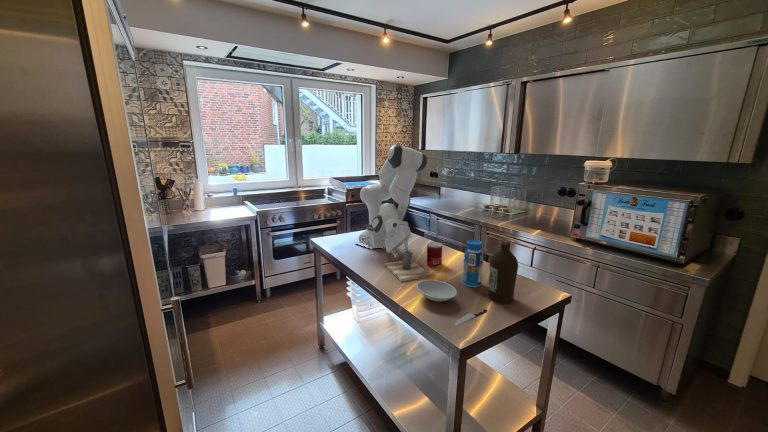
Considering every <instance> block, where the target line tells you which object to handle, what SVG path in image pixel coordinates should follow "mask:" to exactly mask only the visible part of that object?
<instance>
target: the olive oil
mask: <svg viewBox="0 0 768 432" xmlns="http://www.w3.org/2000/svg"><path fill="white" fill-rule="evenodd" d="M510 248H511V240H509V239H501V242H500V249H498V250H497V251H496V252H495V253H493V254H492V256H491V257H490V258H489V259H490V260H489V265H488V266H489V269H488V271H489V273H488V298H489V300H490V301H492V302H493V303H496V304H499V305H509V304H512V303H513V301H514V295H515V289H516V288H515V287H516V281H517V275H518V270H519V262H518V259H517V257H516V255H514V254H513V252H512V251H511V250H510Z"/></svg>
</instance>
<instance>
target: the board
mask: <svg viewBox="0 0 768 432" xmlns="http://www.w3.org/2000/svg"><path fill="white" fill-rule="evenodd" d="M402 265H403V260H398V261H391V262H385V263H384V267H385V266H386V267H387V268H388V269H389V270H390V271H391V272H392V273H393V274H394V275H395V276H396V277H397V278H398V279H399V280H398V279H397V278H396V279H397V280H398V281H400V282H401V281H403V282H406V281H413V279H414V280H417V279H423V278H430V273H429V272H428V271H427V270H425V268H423V267H422V266H421V265H419V264H417V263H416V262H415V261H413V259H412V260H411V266H410V269H407V268H403V267H402ZM386 267H385V268H386ZM387 268H386V269H387ZM388 269H387V270H388ZM389 270H388V271H389ZM391 272H390V273H391ZM392 273H391V274H392ZM393 274H392V275H393ZM394 275H393V276H394ZM395 276H394V277H395Z"/></svg>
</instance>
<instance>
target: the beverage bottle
mask: <svg viewBox="0 0 768 432" xmlns="http://www.w3.org/2000/svg"><path fill="white" fill-rule="evenodd" d="M465 245H466V250H465V252H464V253H463V254H464V255H463V257H464V258H463V271H462V273H463V274H462V284H463V285H464V286H465V287H469V288H478V287H481V285H482V277H483V276H482V275H483V266H484V260H483V259H484V255H483V252H482V250H483V242H482V241H481V240H479V239H469V240H467V241H466V244H465Z"/></svg>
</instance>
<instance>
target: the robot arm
mask: <svg viewBox="0 0 768 432" xmlns="http://www.w3.org/2000/svg"><path fill="white" fill-rule="evenodd" d="M427 164H428V156H427V155H426V154H425V153H423V152H421V151H419V150H416V149H414V148H411V147H408V146H403V145H401V144H392V145H391V146H390V147H389V149H388V151H387V154H386V160H385V161H384V163H383V165H382V166H381V167H380V170H379V172H378V177H379V181H378V182H377V183H374V184H372V183H371V184H368V185H365V186H364V187H362V188H360V191H359V197H360V199H361V201H362V203H364V204H365V205H366V207H367V210H368V221H369V223H367V224H366V229H365V230H364V231H362V232H361V233H360V234H359V236H358V240H359V242H360V243H363V244H366V245H368V248H382V247H386V248H385V250H386V253H387V254H392V255H393V257H394V258H395V259H398V258H399V257H400V256H399V253H397V250H398V249H399V248H400V247H401V246H402V245H403V247H402V248H403V250H404V251H407V249H409V246H408V245H409V241H408V240H409V239H410V238H411V237H412V231H411V228H410V226H409V223H408V221H404V220H405V217H406V215H407V212H408V211H409V208H410V204H411V198H410V197H411V196H410V195H411V192H412V190H413V188H414V186H415V184H416V181H417V179H418V172H421V171H423V170H424V169H425V168H426V167H427ZM390 199H392V200H393V201H394V202H396V203H397V204H398V206H397V207H396V206H395V204H393V203H390V202H386V203H383V204H382V202H383V201H388V200H390ZM382 249H383V248H382Z"/></svg>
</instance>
